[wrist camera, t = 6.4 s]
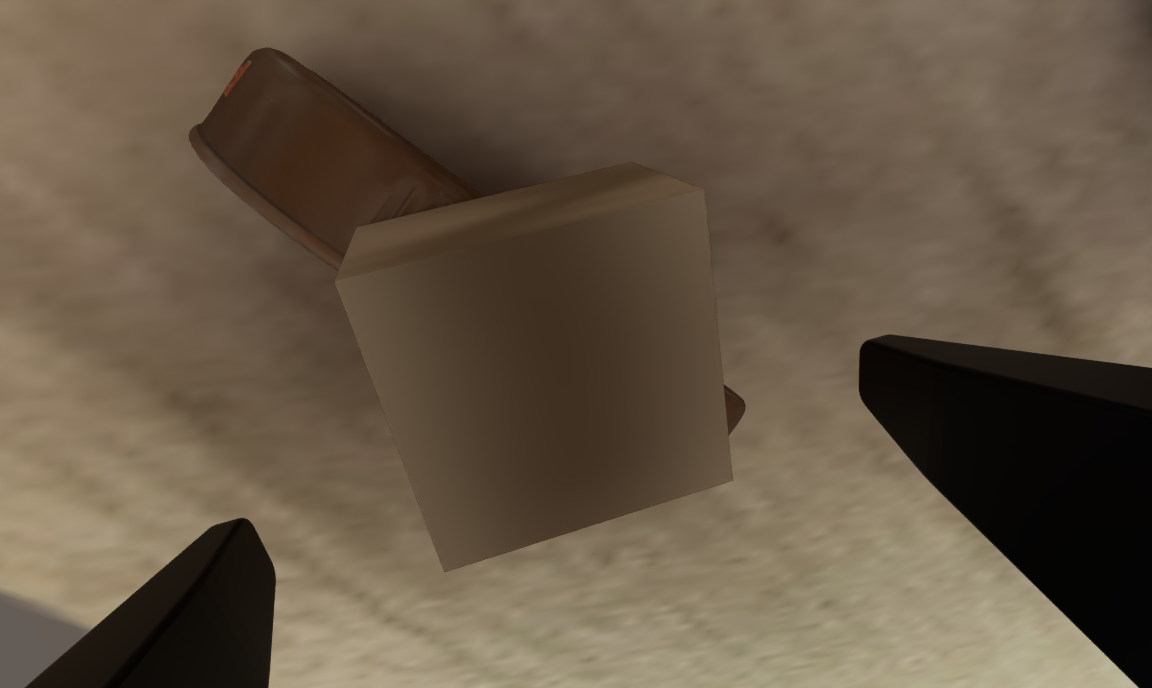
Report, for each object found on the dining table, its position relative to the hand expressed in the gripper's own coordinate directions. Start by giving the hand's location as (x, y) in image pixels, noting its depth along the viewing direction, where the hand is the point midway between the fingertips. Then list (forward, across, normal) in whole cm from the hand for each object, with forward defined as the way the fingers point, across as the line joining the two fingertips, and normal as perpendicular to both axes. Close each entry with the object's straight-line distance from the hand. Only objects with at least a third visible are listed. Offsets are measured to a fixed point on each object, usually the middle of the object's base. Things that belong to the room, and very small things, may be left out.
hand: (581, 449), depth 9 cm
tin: (+12, 0, 0) cm, 13 cm away
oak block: (+4, 0, -1) cm, 4 cm away
